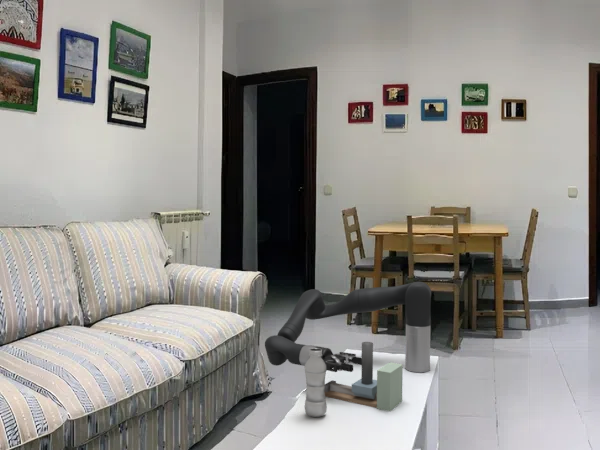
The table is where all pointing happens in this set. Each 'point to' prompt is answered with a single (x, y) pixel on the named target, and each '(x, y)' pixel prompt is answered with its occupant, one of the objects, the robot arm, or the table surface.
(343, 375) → the table surface
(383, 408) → the gauge cabinet
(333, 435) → the table surface
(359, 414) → the table surface
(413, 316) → the robot arm
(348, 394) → the rail
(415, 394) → the table surface
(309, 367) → the plastic bottle
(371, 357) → the cylinder
